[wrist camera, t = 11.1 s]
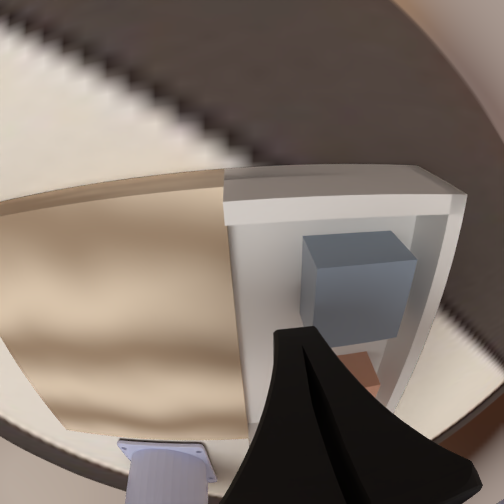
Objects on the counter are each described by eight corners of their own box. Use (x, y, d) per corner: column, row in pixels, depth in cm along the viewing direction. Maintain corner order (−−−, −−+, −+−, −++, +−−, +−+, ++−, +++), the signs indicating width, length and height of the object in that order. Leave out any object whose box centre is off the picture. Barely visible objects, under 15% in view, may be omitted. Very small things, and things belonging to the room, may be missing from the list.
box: (365, 393, 22) (381, 436, 18) (247, 409, 22) (250, 456, 18) (417, 165, 14) (467, 194, 10) (224, 168, 13) (222, 201, 10)
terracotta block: (353, 392, 19) (364, 423, 17) (293, 401, 19) (299, 434, 17) (366, 351, 17) (380, 384, 15) (297, 360, 17) (305, 396, 15)
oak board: (247, 409, 22) (248, 438, 19) (74, 405, 21) (66, 429, 19) (224, 168, 13) (223, 186, 11) (-23, 207, 13) (-49, 227, 11)
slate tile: (377, 303, 15) (396, 337, 13) (299, 312, 15) (310, 350, 13) (390, 230, 13) (417, 259, 11) (302, 236, 13) (317, 268, 11)
